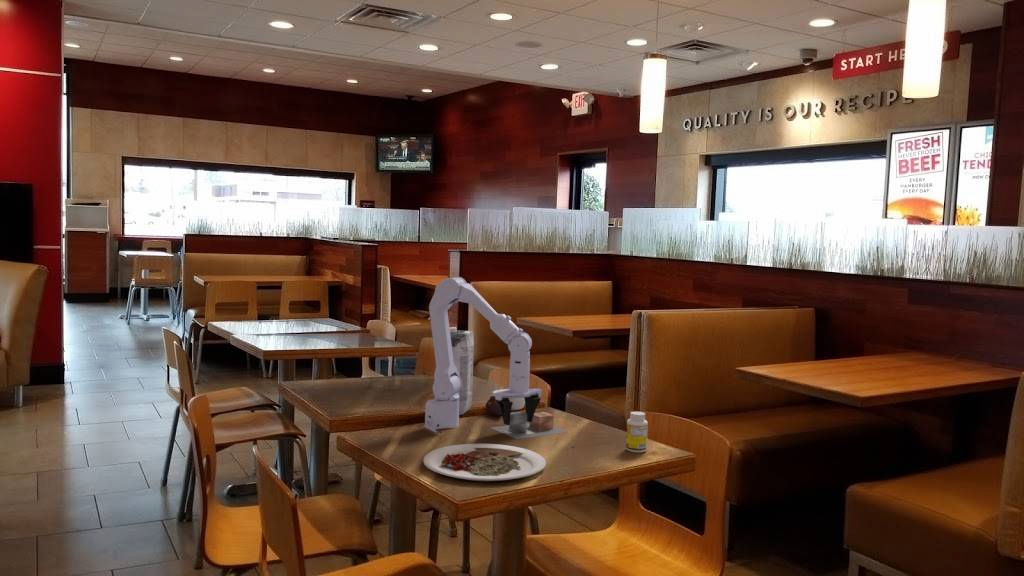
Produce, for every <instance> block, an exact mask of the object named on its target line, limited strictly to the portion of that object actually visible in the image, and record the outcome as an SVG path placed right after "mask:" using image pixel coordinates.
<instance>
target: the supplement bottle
mask: <svg viewBox="0 0 1024 576" xmlns="http://www.w3.org/2000/svg"><path fill="white" fill-rule="evenodd" d="M648 424H649V423H648V421H647V419H646V413H645V412H642V411H630V414H629V419H627V420H626V439H625V441H626V442H625V449H626V450H627V451H629V452H630V453H637V454H639V453H644V452H646V451H647V450H648V449H647V448H648V428H649V427H648V426H649V425H648Z"/></svg>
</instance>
